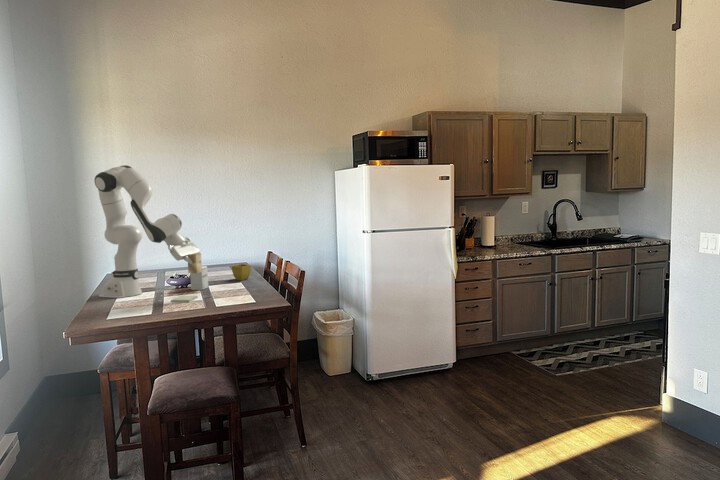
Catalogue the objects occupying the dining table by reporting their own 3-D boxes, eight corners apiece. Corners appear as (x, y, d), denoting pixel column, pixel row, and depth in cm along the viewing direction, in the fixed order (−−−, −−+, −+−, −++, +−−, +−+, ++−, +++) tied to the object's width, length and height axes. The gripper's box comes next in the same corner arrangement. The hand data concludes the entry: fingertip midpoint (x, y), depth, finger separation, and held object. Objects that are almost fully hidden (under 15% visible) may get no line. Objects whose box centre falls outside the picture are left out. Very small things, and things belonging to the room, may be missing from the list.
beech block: (188, 273, 285) (187, 254, 284) (193, 271, 290) (192, 253, 289) (197, 273, 284) (195, 254, 283) (201, 271, 289) (200, 253, 288)
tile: (171, 302, 280) (170, 300, 280) (179, 297, 289) (179, 295, 289) (189, 301, 278) (189, 300, 278) (197, 297, 288) (197, 295, 288)
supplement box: (202, 290, 308) (201, 268, 307) (190, 289, 310) (189, 268, 308) (208, 287, 315) (207, 265, 314) (197, 287, 317) (195, 266, 315)
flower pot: (252, 278, 337) (251, 264, 336) (242, 281, 330) (241, 266, 329) (242, 277, 342) (241, 263, 341) (231, 280, 335) (230, 266, 334)
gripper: (170, 242, 277) (188, 261, 275) (191, 237, 296) (208, 255, 295) (162, 250, 278) (181, 269, 277) (184, 245, 298) (201, 263, 297)
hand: (195, 262), depth 286 cm, fingers closed on beech block, 5 cm apart
